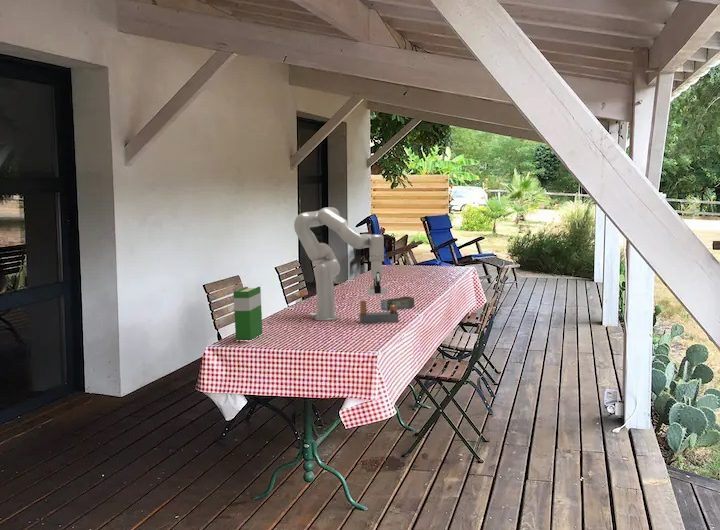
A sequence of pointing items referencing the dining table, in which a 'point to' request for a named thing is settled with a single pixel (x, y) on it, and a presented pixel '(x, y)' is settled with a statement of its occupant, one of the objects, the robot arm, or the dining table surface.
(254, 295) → the green cereal box
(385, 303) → the beverage carton
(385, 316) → the plane body
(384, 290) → the white box
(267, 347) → the dining table surface
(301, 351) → the dining table surface
